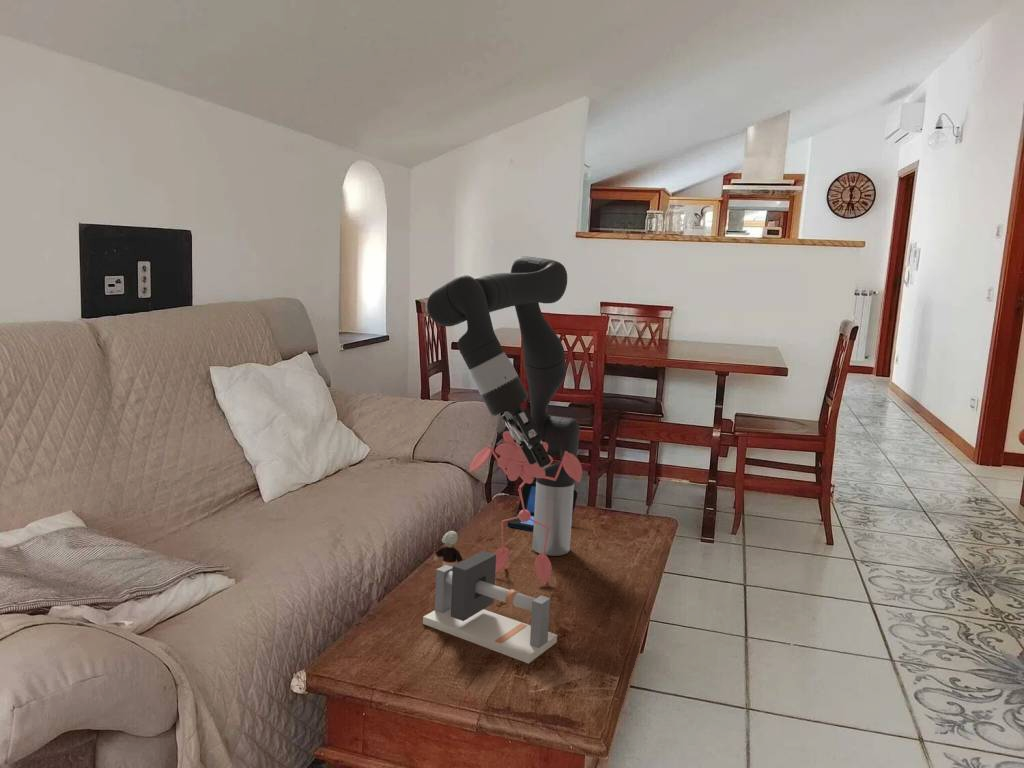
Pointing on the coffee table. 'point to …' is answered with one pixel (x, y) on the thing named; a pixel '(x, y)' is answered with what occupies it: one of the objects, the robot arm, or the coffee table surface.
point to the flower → (517, 467)
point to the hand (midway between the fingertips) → (540, 463)
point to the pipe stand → (494, 620)
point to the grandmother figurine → (449, 550)
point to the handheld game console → (530, 507)
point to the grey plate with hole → (471, 585)
